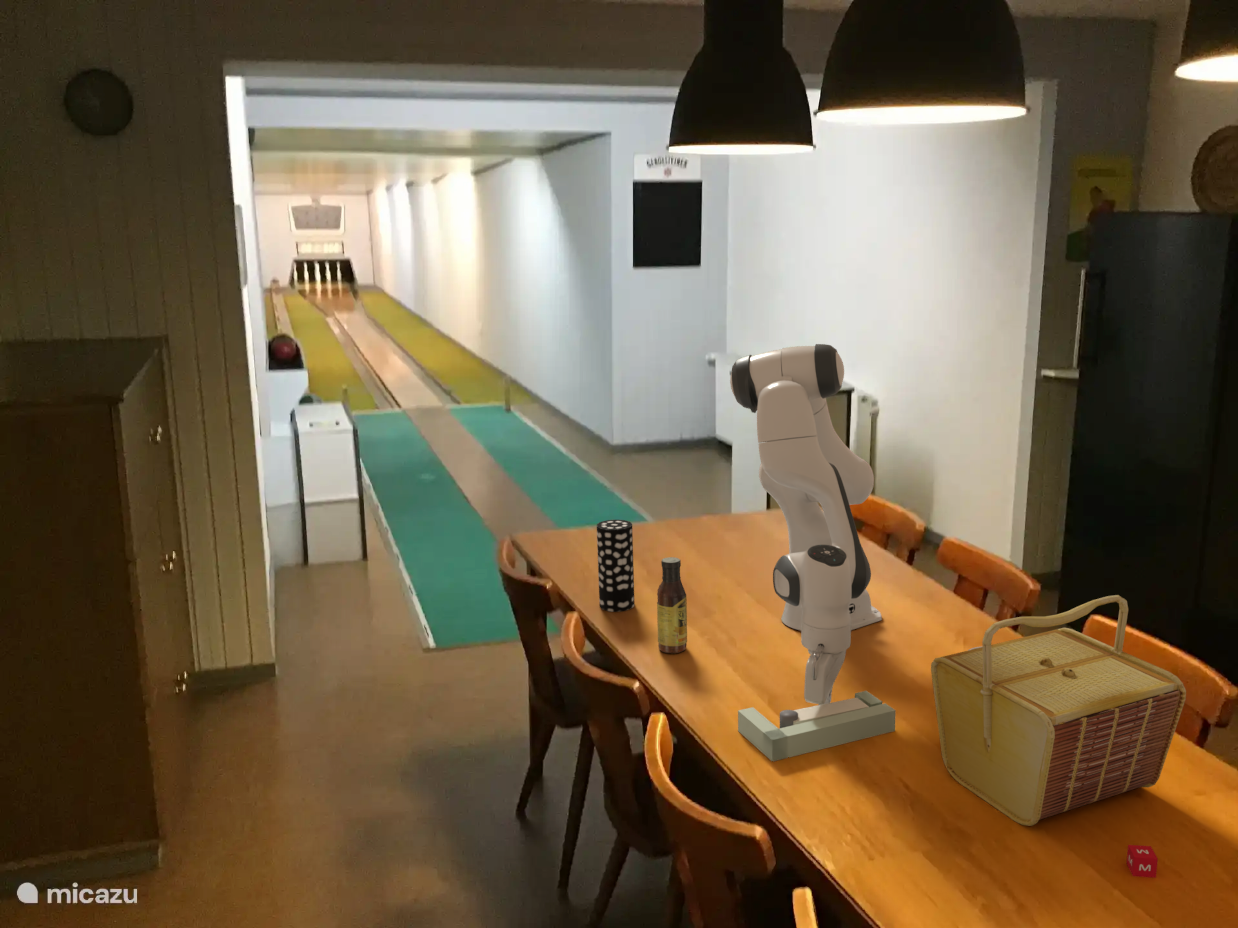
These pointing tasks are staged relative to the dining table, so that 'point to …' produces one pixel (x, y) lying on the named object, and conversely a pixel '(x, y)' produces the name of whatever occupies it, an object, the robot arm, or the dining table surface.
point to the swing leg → (819, 711)
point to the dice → (1142, 861)
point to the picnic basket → (1054, 717)
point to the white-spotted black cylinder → (615, 565)
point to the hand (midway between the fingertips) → (824, 704)
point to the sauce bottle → (671, 608)
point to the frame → (816, 729)
